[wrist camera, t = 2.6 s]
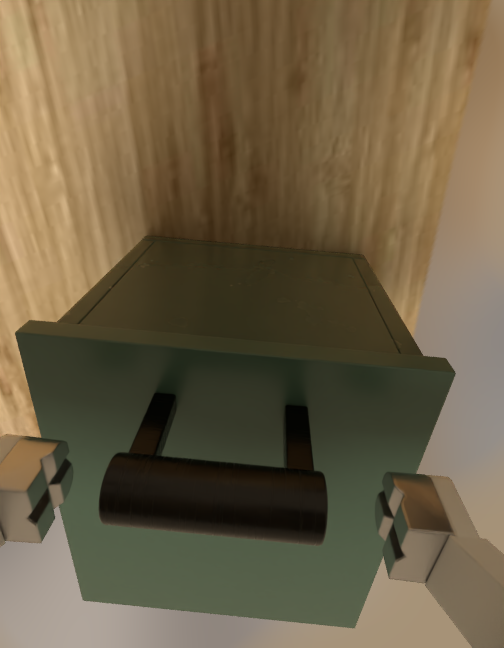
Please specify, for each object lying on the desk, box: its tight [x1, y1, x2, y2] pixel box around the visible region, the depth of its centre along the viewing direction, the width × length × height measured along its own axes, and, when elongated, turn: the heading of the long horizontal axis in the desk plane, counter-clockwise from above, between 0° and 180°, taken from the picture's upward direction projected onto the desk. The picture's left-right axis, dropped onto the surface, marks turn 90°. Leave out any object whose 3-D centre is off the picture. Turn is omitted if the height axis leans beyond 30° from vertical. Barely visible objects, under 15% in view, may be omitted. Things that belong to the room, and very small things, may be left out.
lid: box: [15, 320, 456, 628], centre depth 13 cm, size 14×13×5 cm
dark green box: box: [57, 236, 423, 356], centre depth 21 cm, size 14×13×12 cm
